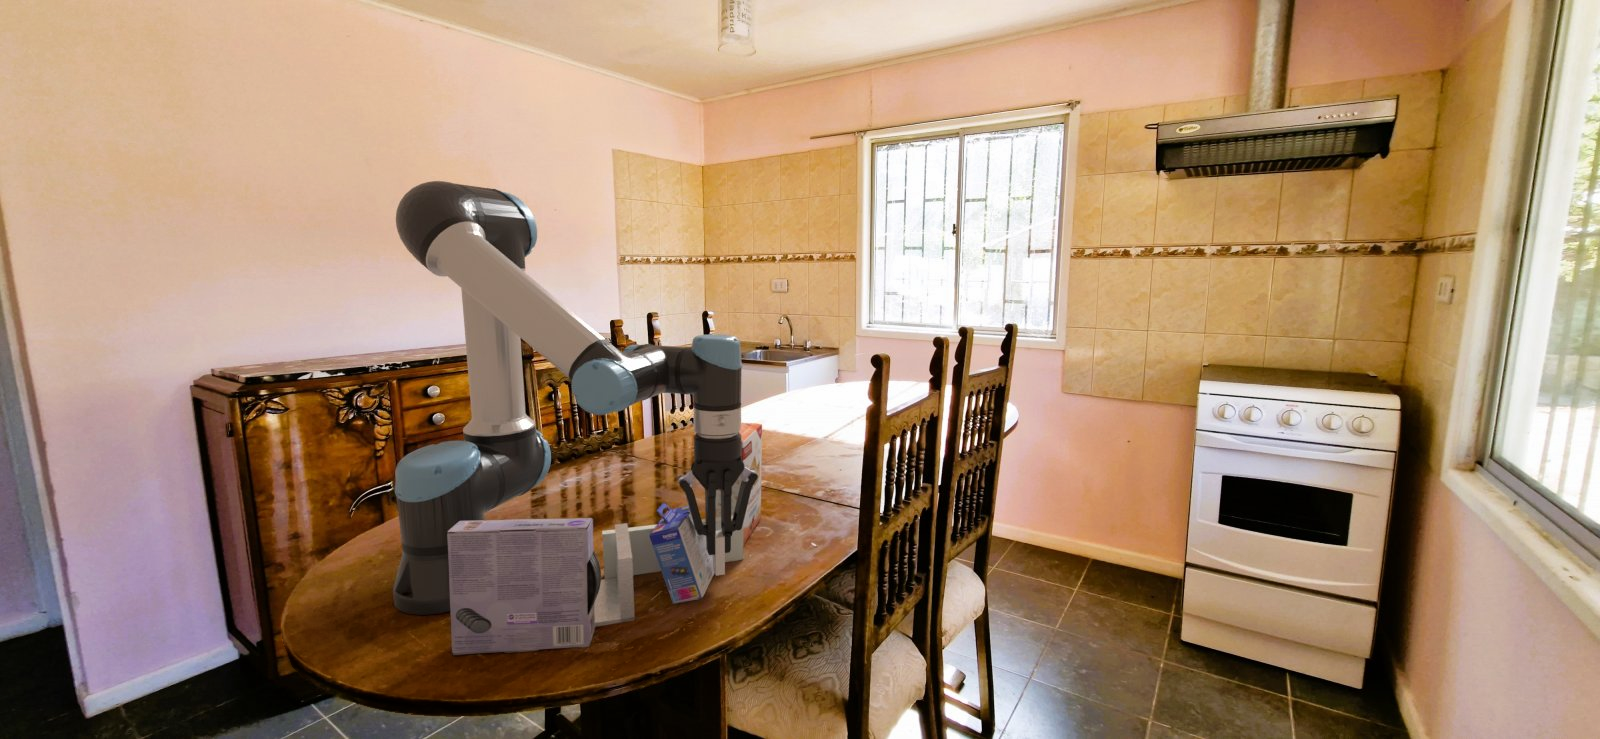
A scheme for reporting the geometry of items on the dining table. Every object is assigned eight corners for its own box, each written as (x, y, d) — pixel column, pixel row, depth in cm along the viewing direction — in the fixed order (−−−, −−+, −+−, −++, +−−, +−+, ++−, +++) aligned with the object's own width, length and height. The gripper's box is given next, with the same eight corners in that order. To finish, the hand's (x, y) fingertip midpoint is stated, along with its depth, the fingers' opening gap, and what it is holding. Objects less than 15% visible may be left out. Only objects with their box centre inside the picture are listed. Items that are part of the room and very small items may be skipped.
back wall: (604, 579, 105) (602, 534, 104) (604, 575, 107) (602, 530, 106) (743, 559, 113) (743, 517, 112) (741, 555, 114) (741, 514, 113)
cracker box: (744, 549, 117) (743, 441, 114) (713, 545, 118) (712, 439, 115) (763, 519, 131) (763, 422, 127) (735, 517, 132) (734, 420, 129)
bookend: (577, 629, 91) (574, 565, 89) (579, 586, 103) (576, 529, 101) (634, 620, 93) (632, 557, 92) (629, 579, 106) (627, 523, 104)
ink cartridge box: (687, 575, 107) (663, 496, 105) (717, 569, 107) (693, 489, 105) (669, 605, 98) (642, 519, 96) (702, 599, 97) (676, 512, 95)
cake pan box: (604, 627, 92) (598, 513, 89) (597, 648, 87) (592, 527, 84) (465, 636, 89) (455, 519, 86) (450, 658, 84) (439, 534, 81)
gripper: (679, 442, 94) (682, 588, 98) (763, 435, 98) (762, 576, 102) (673, 429, 101) (675, 566, 105) (751, 424, 105) (751, 555, 109)
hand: (718, 571), depth 103 cm, fingers closed
